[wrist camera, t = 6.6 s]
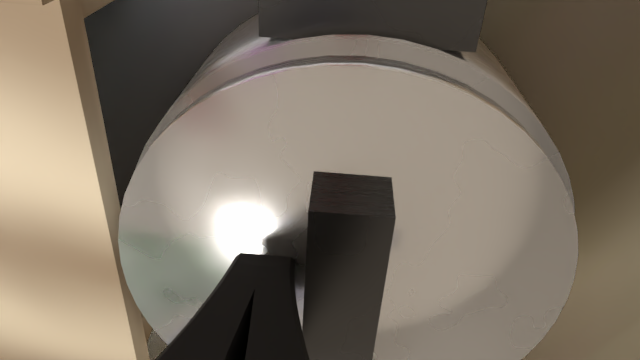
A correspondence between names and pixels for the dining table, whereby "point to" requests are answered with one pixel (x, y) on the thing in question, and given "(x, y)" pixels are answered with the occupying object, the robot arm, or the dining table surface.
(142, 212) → the lid
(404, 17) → the cooker
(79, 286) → the lid rest
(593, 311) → the dining table surface
